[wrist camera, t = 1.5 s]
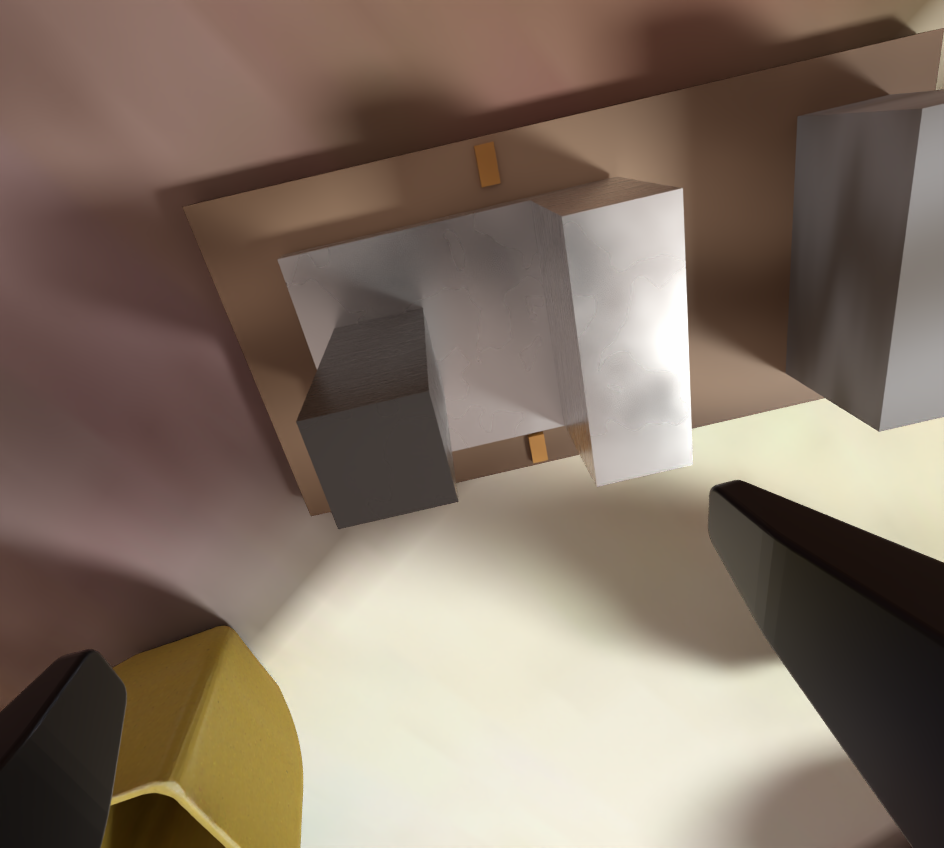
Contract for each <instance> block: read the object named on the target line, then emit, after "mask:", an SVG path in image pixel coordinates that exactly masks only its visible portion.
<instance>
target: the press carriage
mask: <svg viewBox="0 0 944 848" xmlns="http://www.w3.org/2000/svg"><path fill="white" fill-rule="evenodd" d="M277 260H278V263H279V265H280V268H281V271H282V274H283V277H284V279H285V282H286V285H287V288H288V290H289V293H290V296H291V299H292V302H293V304H294V307H295V310H296V313H297V316H298V318H299V321H300V324H301V327H302V330H303V332H304V335H305V338H306V341H307V344H308V346H309V349H310V352H311V355H312V357H313V360H314V363H315V366H316V369H317V372H316V374H315V376H314V379H313V381H312V384H311V386H310V389H309V391H308V394H307V396H306V398H305V401H304V403H303V406H302V408H301V411H300V413H299V415H298V418H297V420H296V423H297V426H298V428H299V431H300V433H301V436H302V438H303V441H304V444H305V446H306V449H307V451H308V454H309V456H310V459H311V461H312V464H313V466H314V469H315V471H316V474H317V477H318V479H319V482H320V484H321V487H322V489H323V492H324V494H325V497H326V499H327V502H328V504H329V507H330V510H331V512H332V515H333V517H334V520H335V522H336V525H337V527H338V529H341V528H346V527H350V526H354V525H359V524H363V523H367V522H372V521H376V520H380V519H385V518H389V517H393V516H398V515H402V514H407V513H411V512H415V511H420V510H424V509H428V508H433V507H437V506H441V505H446V504H450V503H454V502H458V494H457V487H456V479H455V471H454V464H453V456H452V452H453V451H457V450H461V449H466V448H470V447H474V446H479V445H483V444H487V443H492V442H496V441H500V440H505V439H509V438H513V437H518V436H522V435H526V434H531V433H535V432H539V431H544V430H548V429H552V428H557V427H561V426H565V428H566V430H567V432H568V434H569V436H570V437H571V439H572V441H573V443H574V445H575V447H576V449H577V451H578V452H579V454H580V456H581V458H582V460H583V462H584V464H585V465H586V467H587V469H588V471H589V473H590V475H591V477H592V479H593V480H594V482H595V484H596V486H597V487H598V486H603V485H607V484H611V483H616V482H620V481H624V480H629V479H633V478H638V477H642V476H646V475H651V474H655V473H659V472H664V471H668V470H672V469H677V468H681V467H685V466H690V465H693V452H692V424H691V397H690V370H689V342H688V315H687V288H686V261H685V233H684V206H683V188H679V187H673V186H668V185H662V184H656V183H651V182H645V181H639V180H634V179H628V178H622V177H613V178H608V179H604V180H600V181H596V182H591V183H587V184H583V185H579V186H574V187H570V188H566V189H561V190H557V191H553V192H549V193H544V194H540V195H536V196H532V197H527V198H523V199H519V200H514V201H510V202H506V203H502V204H497V205H493V206H489V207H485V208H480V209H476V210H472V211H467V212H463V213H459V214H455V215H450V216H446V217H442V218H438V219H433V220H429V221H425V222H421V223H416V224H412V225H408V226H403V227H399V228H395V229H391V230H386V231H382V232H378V233H374V234H369V235H365V236H361V237H356V238H352V239H348V240H344V241H339V242H335V243H331V244H327V245H322V246H318V247H314V248H309V249H305V250H301V251H297V252H292V253H288V254H284V255H282V256H281V257H280V258H278V259H277Z"/></svg>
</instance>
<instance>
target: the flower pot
mask: <svg viewBox="0 0 944 848" xmlns="http://www.w3.org/2000/svg"><path fill="white" fill-rule="evenodd" d="M112 669H113V670H114V671H115V672H116V674H117V675H118V676H119V677H120V678H121V680H122V681H123V683H124V685H125V687H126V691H127V704H126V710H125V717H124V723H123V730H122V736H121V743H120V749H119V756H118V762H117V769H116V775H115V782H114V788H113V795H112V800H111V805H110V811H109V816H108V820H107V825H106V829H105V833H104V837H103V841H102V845H101V848H300V843H301V822H302V801H303V766H302V757H301V751H300V745H299V741H298V736H297V732H296V729H295V725H294V722H293V719H292V716H291V714H290V711H289V709H288V706H287V704H286V702H285V699H284V697H283V695H282V692H281V690H280V688H279V686H278V685H277V684H276V682H275V681H274V680H273V679H272V677H271V676H270V675H269V674H268V672H267V671H266V670H265V669H264V667H263V666H262V665H261V664H260V663H259V661H258V660H257V659H256V658H255V656H254V655H253V654H252V652H251V651H250V650H249V648H248V647H247V646H246V645H245V644H244V642H243V641H242V639H241V638H240V637H239V635H238V634H237V633H236V632H235V631H234V630H233V629H232V628H230V627H228V626H218V627H215V628H212V629H209V630H206V631H204V632H201V633H198V634H195V635H193V636H190V637H186V638H184V639H181V640H178V641H175V642H172V643H169V644H166V645H163V646H160V647H157V648H155V649H152V650H148V651H145V652H142V653H139V654H137V655H135V656H133V657H131V658H129V659H127V660H126V661H124V662H122V663H120V664H118V665H117V666H115V667H113V668H112Z"/></svg>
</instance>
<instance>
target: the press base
mask: <svg viewBox="0 0 944 848" xmlns="http://www.w3.org/2000/svg"><path fill="white" fill-rule="evenodd" d="M943 33H944V28H942V29H937V30H933V31H928V32H923V33H918V34H914V35H910V36H906V37H901V38H897V39H893V40H889V41H884V42H880V43H876V44H872V45H867V46H863V47H859V48H855V49H850V50H846V51H842V52H838V53H833V54H829V55H825V56H821V57H816V58H812V59H808V60H804V61H799V62H795V63H791V64H787V65H782V66H778V67H774V68H770V69H765V70H761V71H757V72H753V73H748V74H744V75H740V76H736V77H731V78H727V79H723V80H719V81H714V82H710V83H706V84H702V85H697V86H693V87H689V88H685V89H680V90H676V91H672V92H668V93H663V94H659V95H655V96H651V97H646V98H642V99H638V100H634V101H629V102H625V103H621V104H616V105H612V106H608V107H604V108H599V109H595V110H591V111H587V112H582V113H578V114H574V115H570V116H565V117H561V118H557V119H553V120H548V121H544V122H540V123H536V124H531V125H527V126H523V127H519V128H514V129H510V130H506V131H502V132H497V133H493V134H489V135H485V136H480V137H476V138H472V139H468V140H463V141H459V142H455V143H451V144H446V145H442V146H438V147H434V148H429V149H425V150H421V151H417V152H412V153H408V154H404V155H400V156H395V157H391V158H387V159H383V160H378V161H374V162H370V163H366V164H361V165H357V166H353V167H349V168H344V169H340V170H336V171H332V172H327V173H323V174H319V175H315V176H310V177H306V178H302V179H298V180H293V181H289V182H285V183H281V184H276V185H272V186H268V187H264V188H259V189H255V190H251V191H247V192H242V193H238V194H234V195H230V196H225V197H221V198H217V199H213V200H208V201H204V202H200V203H196V204H192V205H188V206H185V207H182V208H183V210H184V212H185V215H186V217H187V220H188V222H189V224H190V227H191V229H192V232H193V234H194V236H195V239H196V241H197V244H198V246H199V248H200V251H201V253H202V256H203V258H204V260H205V263H206V265H207V268H208V270H209V272H210V275H211V277H212V280H213V282H214V284H215V287H216V289H217V292H218V294H219V296H220V299H221V301H222V304H223V306H224V308H225V311H226V313H227V316H228V318H229V320H230V323H231V325H232V328H233V330H234V333H235V335H236V337H237V340H238V342H239V345H240V347H241V349H242V352H243V354H244V357H245V359H246V361H247V364H248V366H249V369H250V371H251V373H252V376H253V378H254V381H255V383H256V385H257V388H258V390H259V393H260V395H261V397H262V400H263V402H264V405H265V407H266V409H267V412H268V414H269V417H270V419H271V421H272V424H273V426H274V429H275V431H276V433H277V436H278V438H279V441H280V443H281V445H282V448H283V450H284V453H285V455H286V458H287V460H288V462H289V465H290V467H291V470H292V472H293V474H294V477H295V479H296V482H297V484H298V486H299V489H300V491H301V494H302V496H303V498H304V501H305V503H306V506H307V508H308V510H309V513H310V515H311V516H314V515H319V514H323V513H328V512H331V510H330V507H329V504H328V502H327V499H326V497H325V494H324V492H323V489H322V487H321V484H320V482H319V479H318V477H317V474H316V471H315V469H314V466H313V464H312V461H311V459H310V456H309V454H308V451H307V449H306V446H305V444H304V441H303V438H302V436H301V433H300V431H299V428H298V426H297V423H296V420H297V418H298V415H299V413H300V411H301V408H302V406H303V403H304V401H305V398H306V396H307V394H308V391H309V389H310V386H311V384H312V381H313V379H314V376H315V374H316V372H317V369H316V366H315V363H314V360H313V357H312V355H311V352H310V349H309V346H308V344H307V341H306V338H305V335H304V332H303V330H302V327H301V324H300V321H299V318H298V316H297V313H296V310H295V307H294V304H293V302H292V299H291V296H290V293H289V290H288V288H287V285H286V282H285V279H284V277H283V274H282V271H281V268H280V265H279V263H278V260H277V259H278V258H280V257H281V256H282V255H284V254H288V253H292V252H297V251H301V250H305V249H309V248H314V247H318V246H322V245H327V244H331V243H335V242H339V241H344V240H348V239H352V238H356V237H361V236H365V235H369V234H374V233H378V232H382V231H386V230H391V229H395V228H399V227H403V226H408V225H412V224H416V223H421V222H425V221H429V220H433V219H438V218H442V217H446V216H450V215H455V214H459V213H463V212H467V211H472V210H476V209H480V208H485V207H489V206H493V205H497V204H502V203H506V202H510V201H514V200H519V199H523V198H527V197H532V196H536V195H540V194H544V193H549V192H553V191H557V190H561V189H566V188H570V187H574V186H579V185H583V184H587V183H591V182H596V181H600V180H604V179H608V178H613V177H622V178H628V179H634V180H639V181H645V182H651V183H656V184H662V185H668V186H673V187H679V188H683V206H684V233H685V261H686V288H687V315H688V342H689V370H690V397H691V424H692V428H697V427H701V426H705V425H710V424H714V423H718V422H723V421H727V420H731V419H736V418H740V417H744V416H749V415H753V414H758V413H762V412H766V411H771V410H775V409H779V408H784V407H788V406H792V405H797V404H801V403H805V402H810V401H814V400H818V399H823V398H826V399H828V400H829V401H831V402H832V403H834V404H836V405H837V406H839V407H840V408H842V409H844V410H845V411H847V412H848V413H850V414H852V415H853V416H855V417H856V418H858V419H860V420H861V421H863V422H864V423H866V424H868V425H869V426H871V427H872V428H874V429H876V430H877V431H879V432H880V431H884V430H889V429H893V428H897V427H902V426H906V425H910V424H915V423H919V422H923V421H928V420H932V419H936V418H941V417H944V90H935V89H936V82H937V75H938V68H939V61H940V54H941V47H942V40H943ZM575 455H579V452H578V451H577V449H576V447H575V445H574V443H573V441H572V439H571V437H570V436H569V434H568V432H567V430H566V428H565V426H561V427H557V428H552V429H548V430H544V431H539V432H535V433H531V434H526V435H522V436H518V437H513V438H509V439H505V440H500V441H496V442H492V443H487V444H483V445H479V446H474V447H470V448H466V449H461V450H457V451H453V452H452V456H453V464H454V471H455V479H456V483H458V482H462V481H467V480H471V479H475V478H480V477H484V476H488V475H493V474H497V473H501V472H506V471H510V470H514V469H519V468H523V467H527V466H532V465H536V464H540V463H545V462H549V461H553V460H558V459H562V458H566V457H571V456H575Z"/></svg>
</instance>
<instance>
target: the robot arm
mask: <svg viewBox="0 0 944 848" xmlns="http://www.w3.org/2000/svg"><path fill="white" fill-rule="evenodd" d="M708 531H709V536H710V539H711V541H712V544H713V546H714V547H715V549H716V551H717V553H718V555H719V556H720V558H721V560H722V562H723V564H724V565H725V567H726V569H727V571H728V573H729V574H730V576H731V578H732V580H733V582H734V584H735V585H736V587H737V589H738V591H739V593H740V594H741V596H742V598H743V600H744V602H745V603H746V605H747V607H748V609H749V611H750V612H751V614H752V616H753V618H754V620H755V621H756V623H757V625H758V626H759V628H760V630H761V631H762V633H763V635H764V636H765V638H766V639H767V641H768V642H769V644H770V645H771V647H772V648H773V650H774V651H775V653H776V654H777V655H778V657H779V658H780V660H781V661H782V662H783V664H784V665H785V667H786V668H787V670H788V671H789V672H790V674H791V675H792V677H793V678H794V680H795V681H796V682H797V684H798V685H799V687H800V688H801V690H802V691H803V692H804V694H805V695H806V697H807V698H808V700H809V701H810V702H811V704H812V705H813V707H814V708H815V709H816V711H817V712H818V714H819V715H820V717H821V718H822V719H823V721H824V722H825V724H826V725H827V727H828V728H829V729H830V731H831V732H832V734H833V735H834V737H835V738H836V739H837V741H838V742H839V744H840V745H841V747H842V748H843V749H844V751H845V752H846V754H847V755H848V756H849V758H850V759H851V761H852V762H853V764H854V765H855V766H856V768H857V769H858V771H859V772H860V774H861V775H862V776H863V778H864V779H865V781H866V782H867V784H868V785H869V786H870V788H871V789H872V791H873V792H874V794H875V795H876V796H877V798H878V799H879V801H880V802H881V804H882V805H883V806H884V808H885V809H886V811H887V812H888V813H889V815H890V816H891V818H892V819H893V821H894V822H895V823H896V825H897V826H898V828H899V829H900V831H901V832H902V833H903V835H904V836H905V838H906V839H907V841H908V842H909V843H910V845H911V846H912V848H944V563H943V562H941V561H938V560H936V559H933V558H931V557H928V556H926V555H924V554H921V553H919V552H916V551H914V550H911V549H909V548H906V547H904V546H901V545H899V544H897V543H894V542H892V541H889V540H887V539H884V538H882V537H879V536H877V535H874V534H872V533H870V532H867V531H865V530H862V529H860V528H857V527H855V526H852V525H850V524H847V523H845V522H843V521H840V520H838V519H835V518H833V517H830V516H828V515H825V514H823V513H820V512H818V511H816V510H813V509H811V508H808V507H806V506H803V505H801V504H798V503H796V502H793V501H791V500H789V499H786V498H784V497H781V496H779V495H776V494H774V493H771V492H769V491H766V490H764V489H762V488H759V487H757V486H754V485H752V484H749V483H747V482H744V481H741V480H734V481H730V482H726V483H722V484H718V485H715V486H714V487H712V488H711V490H710V494H709V516H708ZM126 704H127V691H126V687H125V685H124V683H123V681H122V680H121V678H120V677H119V676H118V675H117V674H116V672H115V671H114V670H113V669H112V667H111V666H110V665H109V664H108V662H107V661H106V660H105V659H104V657H103V656H102V655H101V654H100V653H99V652H98V651H96V650H93V649H86V650H82V651H79V652H75V653H71V654H67V655H64V656H62V657H60V658H58V659H57V660H56V661H55V662H53V663H52V664H51V665H50V666H49V667H48V668H47V669H46V670H45V671H44V672H43V673H42V674H41V675H40V676H39V677H37V678H36V679H35V680H34V681H33V682H32V683H31V684H30V685H29V686H28V687H27V688H26V689H25V690H24V691H22V692H21V693H20V694H19V695H18V696H17V697H16V698H15V699H14V700H13V701H12V702H11V703H10V704H9V705H7V706H6V707H5V708H4V709H3V710H2V711H1V712H0V848H101V845H102V841H103V837H104V833H105V829H106V825H107V820H108V816H109V811H110V805H111V800H112V795H113V788H114V782H115V775H116V769H117V762H118V756H119V749H120V743H121V736H122V730H123V723H124V717H125V710H126Z"/></svg>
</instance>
